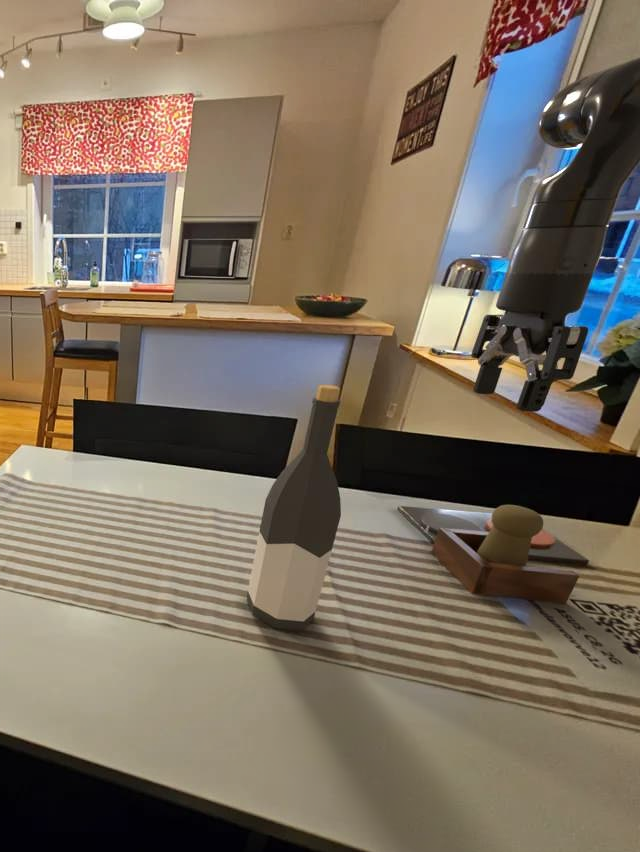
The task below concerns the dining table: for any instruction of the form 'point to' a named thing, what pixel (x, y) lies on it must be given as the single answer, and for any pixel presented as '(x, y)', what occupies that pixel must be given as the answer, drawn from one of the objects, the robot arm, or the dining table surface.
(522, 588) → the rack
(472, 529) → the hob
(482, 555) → the olive knobbed cone
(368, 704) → the dining table surface
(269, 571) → the wine bottle
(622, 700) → the dining table surface
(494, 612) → the dining table surface
